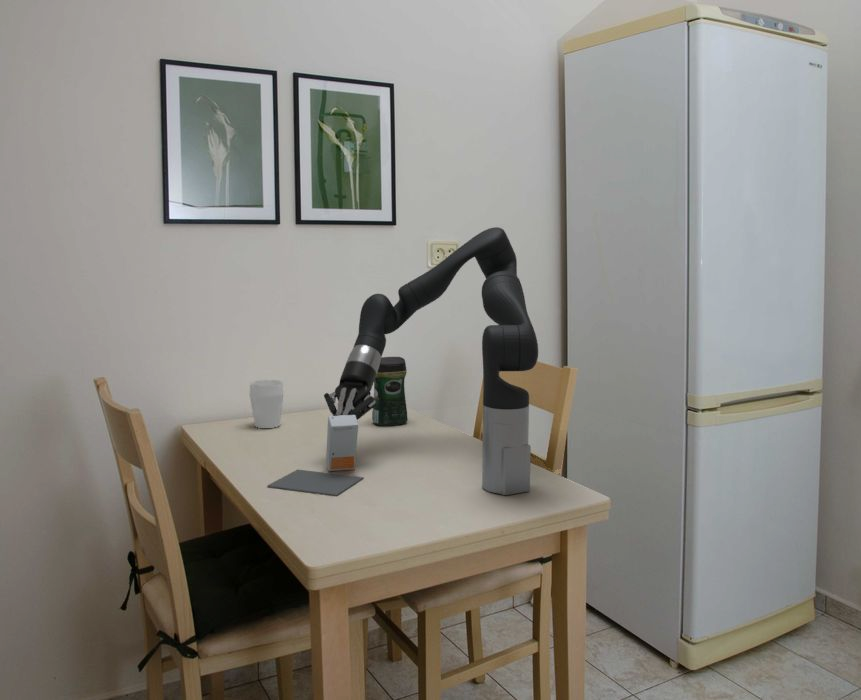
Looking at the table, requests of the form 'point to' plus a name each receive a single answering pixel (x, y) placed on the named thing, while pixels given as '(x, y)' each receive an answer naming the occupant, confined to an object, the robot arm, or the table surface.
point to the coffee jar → (390, 392)
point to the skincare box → (341, 442)
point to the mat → (316, 482)
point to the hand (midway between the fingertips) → (337, 432)
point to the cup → (266, 402)
